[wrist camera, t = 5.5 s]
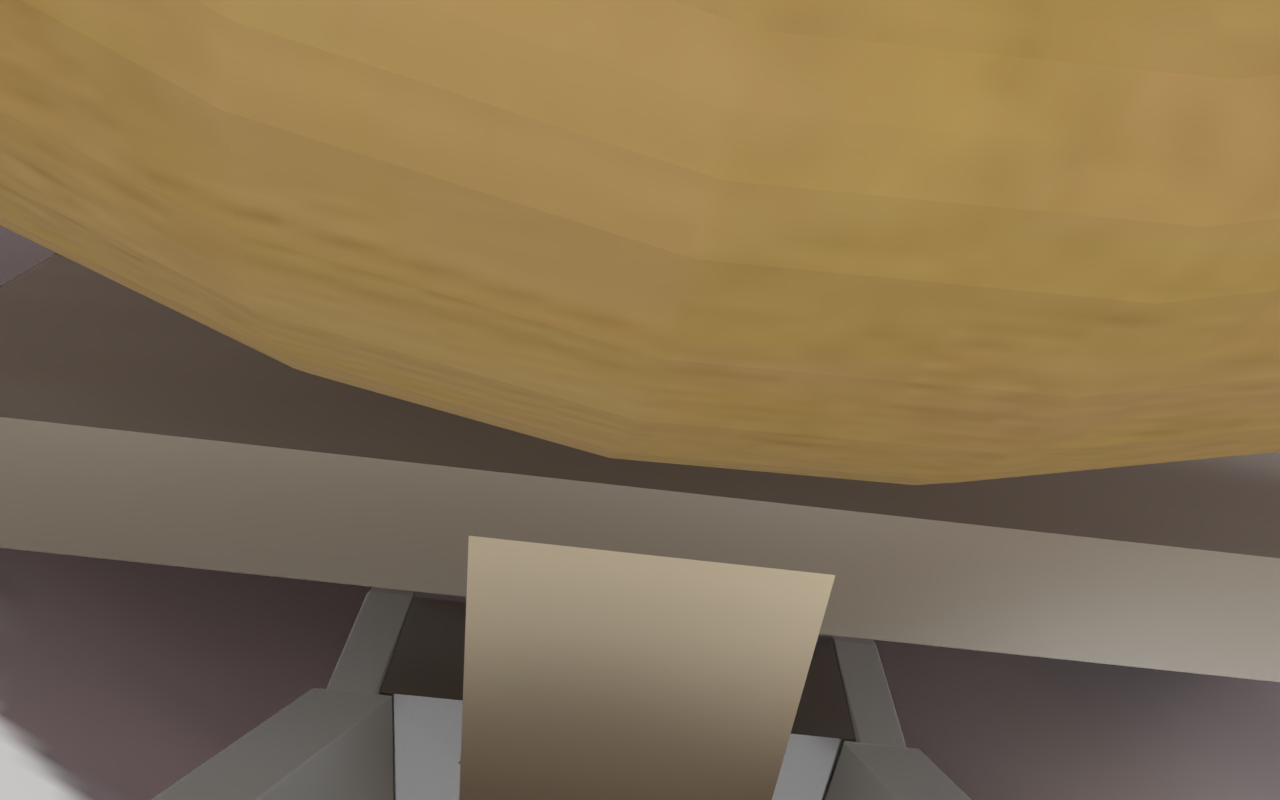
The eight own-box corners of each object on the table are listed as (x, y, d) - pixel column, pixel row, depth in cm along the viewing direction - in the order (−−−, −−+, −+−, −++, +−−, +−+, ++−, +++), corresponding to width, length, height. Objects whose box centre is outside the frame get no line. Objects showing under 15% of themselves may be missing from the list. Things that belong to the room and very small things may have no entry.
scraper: (978, 771, 14) (1094, 1090, 11) (205, 694, 14) (31, 999, 10) (1170, 333, 11) (1455, 578, 7) (132, 208, 10) (-187, 397, 6)
